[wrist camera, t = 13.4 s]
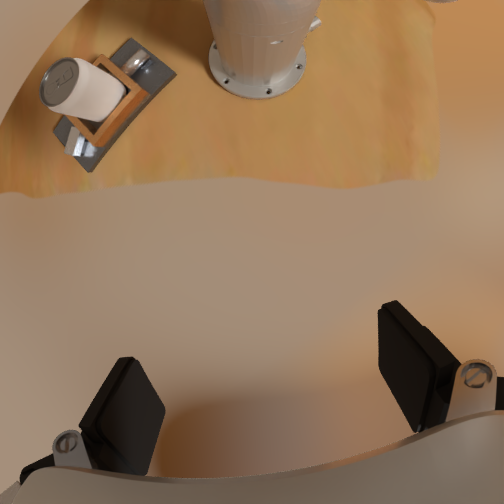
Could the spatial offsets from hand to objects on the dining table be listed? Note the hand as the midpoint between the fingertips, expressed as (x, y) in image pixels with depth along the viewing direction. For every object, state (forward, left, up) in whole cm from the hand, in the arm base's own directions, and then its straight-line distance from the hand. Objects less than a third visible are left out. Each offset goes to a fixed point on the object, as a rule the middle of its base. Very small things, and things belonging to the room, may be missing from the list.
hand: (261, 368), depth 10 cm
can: (+2, -27, -27) cm, 38 cm away
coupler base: (+2, -27, -28) cm, 39 cm away
